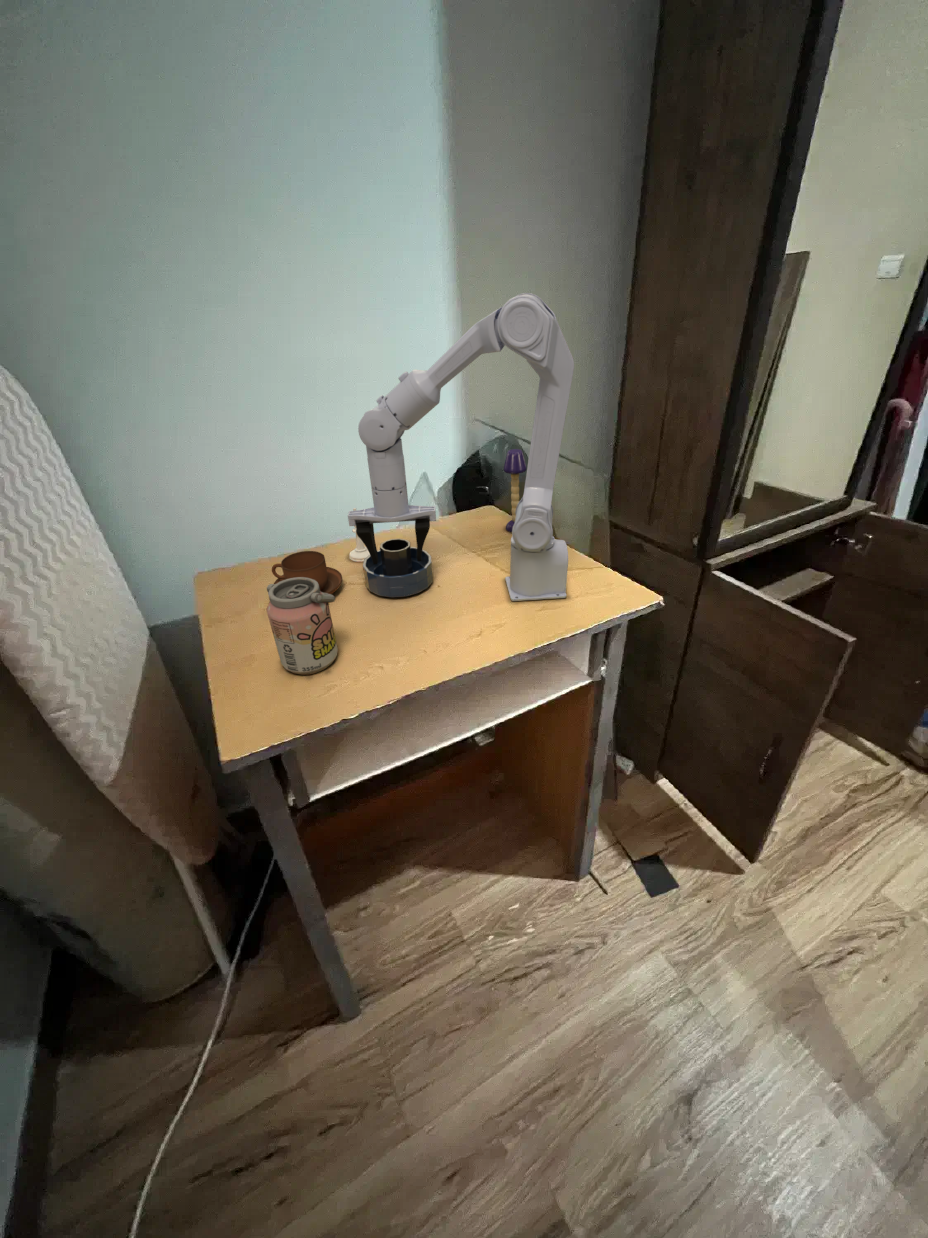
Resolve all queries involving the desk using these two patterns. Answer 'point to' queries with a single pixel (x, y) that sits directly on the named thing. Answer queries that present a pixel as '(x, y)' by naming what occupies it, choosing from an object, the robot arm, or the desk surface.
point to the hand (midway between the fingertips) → (397, 560)
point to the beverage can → (302, 625)
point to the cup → (396, 557)
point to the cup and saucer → (309, 570)
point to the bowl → (399, 584)
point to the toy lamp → (514, 479)
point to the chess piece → (358, 549)
